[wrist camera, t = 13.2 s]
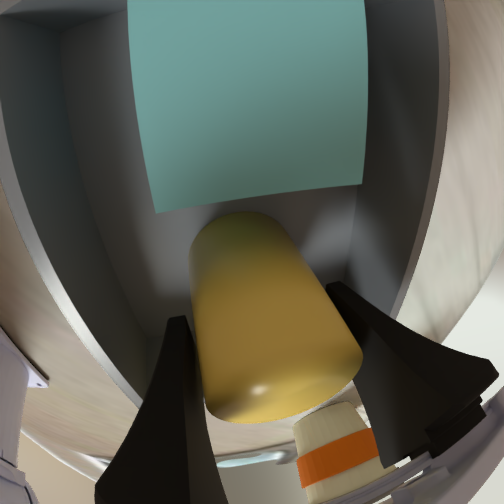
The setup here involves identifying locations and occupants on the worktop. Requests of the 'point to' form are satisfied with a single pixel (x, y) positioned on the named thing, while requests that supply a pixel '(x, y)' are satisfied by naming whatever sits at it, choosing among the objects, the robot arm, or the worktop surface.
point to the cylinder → (263, 323)
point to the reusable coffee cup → (337, 454)
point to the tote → (196, 218)
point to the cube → (248, 96)
